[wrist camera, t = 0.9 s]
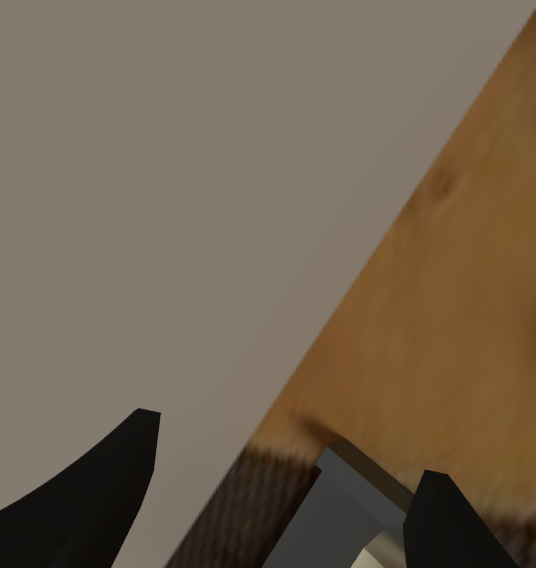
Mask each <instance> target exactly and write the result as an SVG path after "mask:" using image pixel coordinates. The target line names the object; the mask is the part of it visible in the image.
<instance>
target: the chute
mask: <svg viewBox="0 0 536 568" xmlns="http://www.w3.org/2000/svg"><path fill="white" fill-rule="evenodd" d="M315 465H317V466H318V467H319V468H320V469H321V470H322V472H321V474H320V475H319V477H318V479H317V480H316V482H315V483H314V485H313V487H312V488H311V490H310V491H309V493H308V495H307V496H306V498H305V499H304V501H303V502H302V504H301V506H300V507H299V509H298V510H297V512H296V514H295V515H294V517H293V518H292V520H291V522H290V523H289V525H288V526H287V528H286V530H285V531H284V533H283V534H282V536H281V538H280V539H279V541H278V542H277V544H276V546H275V547H274V549H273V550H272V552H271V554H270V555H269V557H268V558H267V560H266V561H265V563H264V565H263V566H262V568H351V566H352V565H353V563H354V562H355V560H356V559H357V557H358V556H359V554H360V553H361V551H362V550H363V548H364V547H365V546H366V545H368V544H369V543H370V542H371V541H372V540H373V539H374V538H375V537H376V536H378V535H379V534H380V533H381V532H382V531H383V530H384V529H385V528H388V529H389V530H390V531H391V532H392V533H393V534H394V535H395V536H397V537H398V538H399V539H400V540H401V541H402V542H403V543H404V537H403V523H404V520H405V518H406V515H407V513H408V510H409V508H410V505H411V503H412V501H413V498H414V496H415V495H414V494H413V493H411V492H410V491H409V490H408V489H406V488H405V487H404V486H403V485H402V484H400V483H399V482H398V481H397V480H396V479H394V478H393V477H392V476H391V475H389V474H388V473H387V472H386V471H385V470H383V469H382V468H381V467H380V466H378V465H377V464H376V463H375V462H374V461H372V460H371V459H370V458H369V457H367V456H366V455H365V454H364V453H363V452H361V451H360V450H359V449H358V448H356V447H355V446H354V445H353V444H352V443H350V442H349V441H348V440H345V441H341V442H338V443H335V444H332V445H329V446H326V448H325V449H324V451H323V453H322V454H321V456H320V457H319V459H318V461H317V462H316V464H315Z"/></svg>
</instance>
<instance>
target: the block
mask: <svg viewBox="0 0 536 568" xmlns="http://www.w3.org/2000/svg"><path fill="white" fill-rule="evenodd" d="M351 568H406V560H405V550H404V543H403V542H402V541H401V540H400V539H399V538H398V537H397V536H395V535H394V534H393V533H392V532H391V531H390V530H389V529H388V528H385V529H384V530H383V531H382V532H381V533H380V534H379V535H378V536H376V537H375V538H374V539H373V540H372V541H371V542H370V543H369V544H368V545H366V546H365V547H364V548H363V550H362V551H361V553H360V554H359V556H358V557H357V559H356V560H355V562H354V563H353V565H352V566H351Z"/></svg>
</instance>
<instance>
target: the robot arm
mask: <svg viewBox="0 0 536 568" xmlns="http://www.w3.org/2000/svg"><path fill="white" fill-rule="evenodd" d="M160 415H161V413H159V412H155V411H150V410H145V409H141V408H138V409H137V410H135V411H134V412H132V414H130V415H129V416H128V417H127V418H126V419H125V420H124V421H123V422H122V423H121V424H120V425H118V426H117V427H116V428H115V429H114V430H113V431H112V432H111V433H109V434H108V435H107V436H106V437H105V438H104V439H102V440H101V441H100V442H99V443H98V444H96V445H95V446H94V447H93V448H92V449H90V450H89V451H88V452H87V453H85V454H84V455H83V456H82V457H80V458H79V459H78V460H77V461H75V462H74V463H73V464H71V465H70V466H69V467H67V468H65V469H64V470H63V471H62V472H60V473H59V474H57V475H56V476H55V477H53V478H52V479H50V480H49V481H47V482H46V483H44V484H43V485H41V486H40V487H38V488H37V489H35V490H34V491H32V492H30V493H29V494H27V495H26V496H24V497H22V498H21V499H19V500H17V501H16V502H14V503H12V504H11V505H9V506H7V507H5V508H4V509H2V510H0V568H111V567H112V565H113V563H114V561H115V559H116V557H117V554H118V553H119V551H120V548H121V546H122V544H123V542H124V540H125V538H126V536H127V534H128V532H129V530H130V528H131V526H132V524H133V522H134V520H135V518H136V516H137V514H138V512H139V510H140V508H141V505H142V502H143V499H144V497H145V494H146V491H147V488H148V486H149V483H150V480H151V477H152V475H153V472H154V465H155V456H156V448H157V440H158V432H159V424H160ZM403 537H404V550H405V560H406V568H520V567H519V566H518V565H517V564H516V563H515V562H514V560H513V559H512V558H511V557H510V555H509V554H508V553H507V552H506V550H505V549H504V548H503V547H502V545H501V544H500V543H499V542H498V540H497V539H496V538H495V537H494V535H493V534H492V533H491V531H490V530H489V529H488V527H487V526H486V525H485V523H484V522H483V521H482V519H481V518H480V517H479V515H478V514H477V513H476V511H475V510H474V509H473V507H472V506H471V505H470V503H469V502H468V501H467V499H466V498H465V497H464V495H463V494H462V493H461V491H460V490H459V488H458V487H457V486H456V484H455V483H454V482H453V480H452V479H451V478H450V477H449V475H448V474H444V473H439V472H435V471H430V470H425V471H424V473H423V476H422V478H421V481H420V483H419V486H418V488H417V491H416V493H415V496H414V498H413V501H412V503H411V505H410V508H409V510H408V513H407V515H406V518H405V520H404V523H403Z"/></svg>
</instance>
